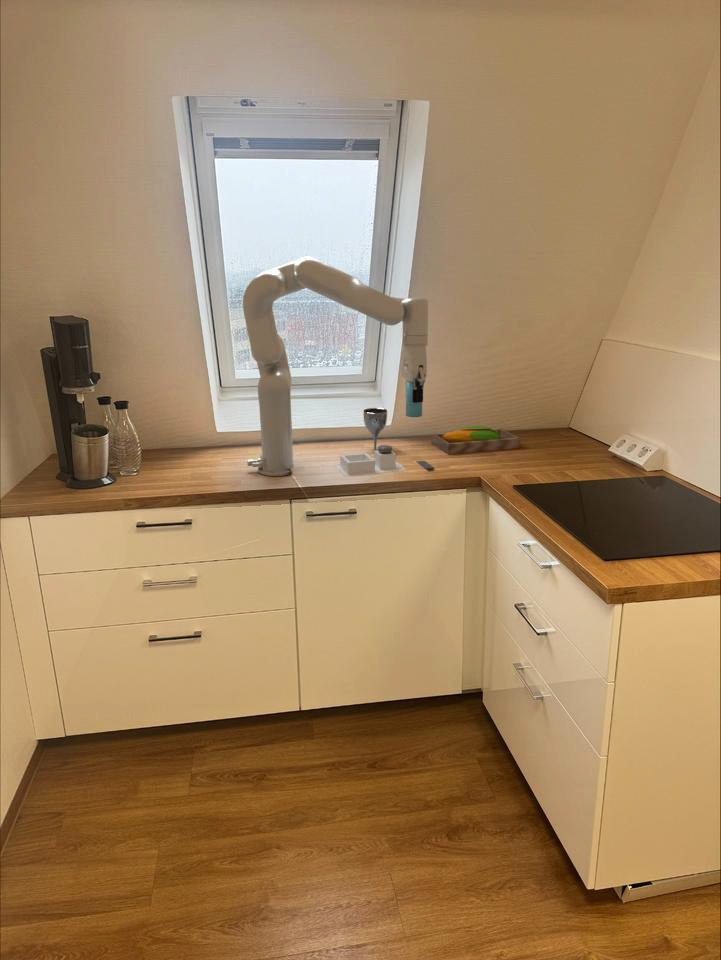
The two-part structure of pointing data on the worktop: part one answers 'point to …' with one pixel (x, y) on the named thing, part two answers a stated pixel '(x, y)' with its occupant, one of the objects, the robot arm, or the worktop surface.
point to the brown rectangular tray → (477, 443)
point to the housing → (368, 464)
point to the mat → (425, 465)
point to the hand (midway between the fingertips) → (414, 399)
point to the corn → (472, 434)
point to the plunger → (385, 449)
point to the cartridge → (411, 407)
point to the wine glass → (375, 421)
